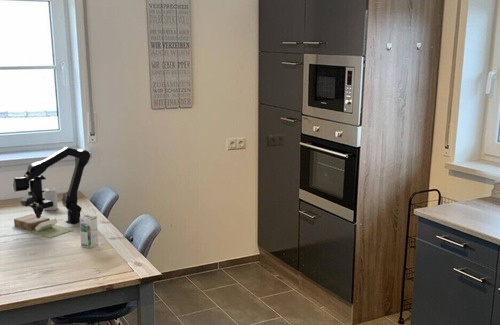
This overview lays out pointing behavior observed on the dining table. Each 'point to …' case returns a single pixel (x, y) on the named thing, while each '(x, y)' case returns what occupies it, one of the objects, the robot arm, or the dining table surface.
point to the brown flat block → (29, 222)
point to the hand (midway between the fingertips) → (38, 218)
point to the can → (50, 197)
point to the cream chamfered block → (46, 224)
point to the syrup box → (88, 231)
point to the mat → (51, 231)
